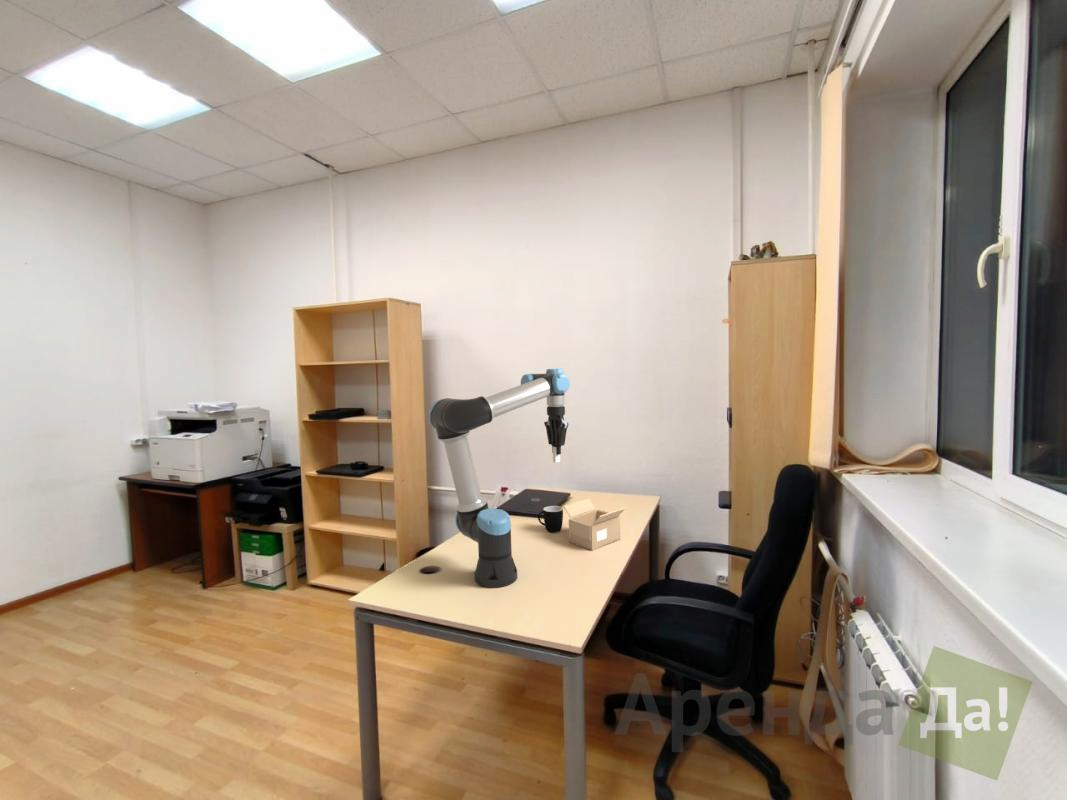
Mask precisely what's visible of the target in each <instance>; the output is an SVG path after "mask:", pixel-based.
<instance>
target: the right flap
mask: <svg viewBox="0 0 1067 800" xmlns="http://www.w3.org/2000/svg"><path fill="white" fill-rule="evenodd" d="M625 510H626V507H622V508H619V509H617V510H613V511H611V512H609V513H607V514H604V515H601V516H599V517H598V518H597V519H596V521H595V522H594V523H593V525H594V524H596V523H599V522H602V521H605V520H608V519H611V518H614V517H616V516H619V515H621V514H622V513H623V512H624V511H625Z"/></svg>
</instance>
